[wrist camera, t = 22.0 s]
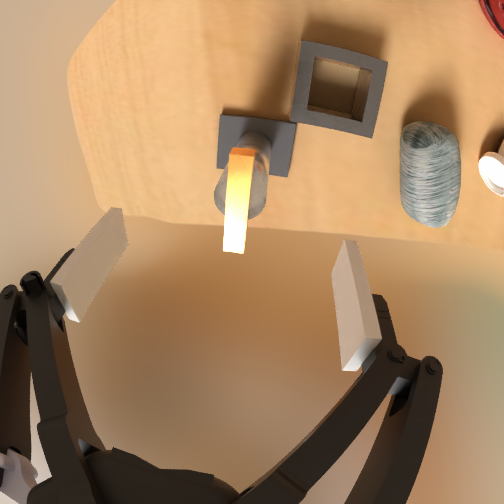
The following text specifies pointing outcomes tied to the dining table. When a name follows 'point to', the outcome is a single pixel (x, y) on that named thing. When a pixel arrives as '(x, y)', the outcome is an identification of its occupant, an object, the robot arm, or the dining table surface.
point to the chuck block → (365, 94)
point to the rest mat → (273, 129)
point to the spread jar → (493, 169)
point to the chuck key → (243, 187)
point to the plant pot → (494, 14)
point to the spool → (429, 173)
